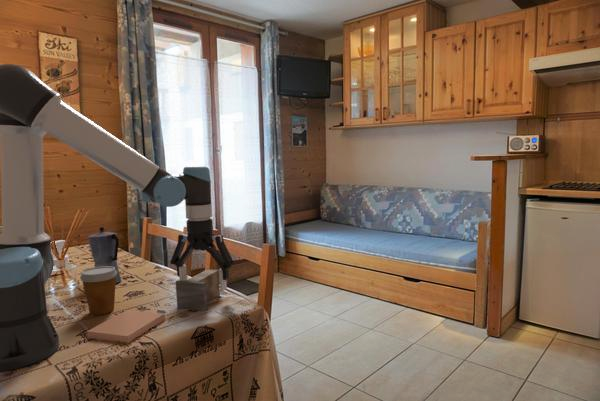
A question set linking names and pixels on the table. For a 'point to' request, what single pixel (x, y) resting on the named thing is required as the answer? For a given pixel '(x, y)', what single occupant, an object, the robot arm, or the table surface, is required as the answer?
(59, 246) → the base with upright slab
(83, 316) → the table surface
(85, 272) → the disposable coffee cup
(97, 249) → the moka pot
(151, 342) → the table surface
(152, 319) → the tile
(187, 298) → the tan flared wedge
